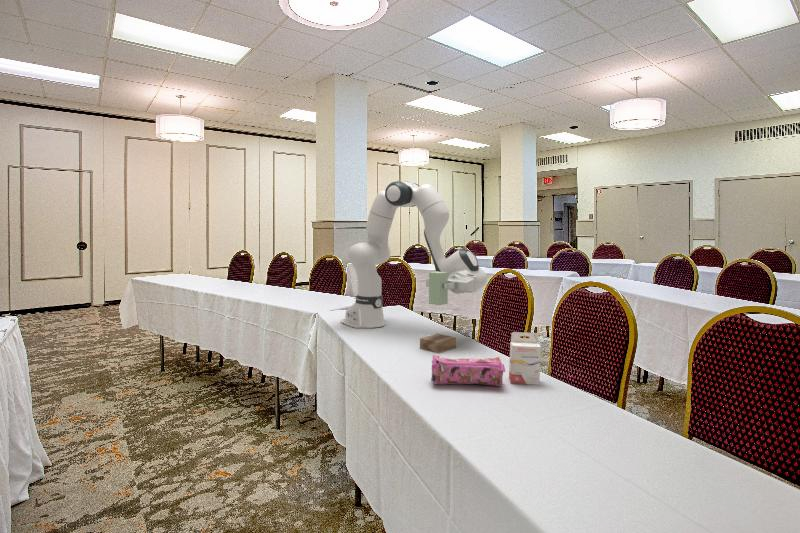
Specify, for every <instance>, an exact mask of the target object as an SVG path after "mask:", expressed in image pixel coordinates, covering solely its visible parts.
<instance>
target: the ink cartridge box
mask: <svg viewBox="0 0 800 533" xmlns="http://www.w3.org/2000/svg"><path fill="white" fill-rule="evenodd" d="M510 335H511V336H510V343H509V345H510V346H509V368H508V370H509V371H508V379H509V381H510V383H511V384H518V385H519V384H522V385H538V386H539V385H540V380H541V379H540V378H541V357H542V356H541V355H542V346H541V345H540V343H539V341H538V340H539V334H538V333H537V332H520V331H519V332H518V331H517V332H516V331H515V332H514V331H513V332H511V333H510ZM524 336H525V337H524ZM523 337H524V338H523ZM526 337H527V338H526Z"/></svg>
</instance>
